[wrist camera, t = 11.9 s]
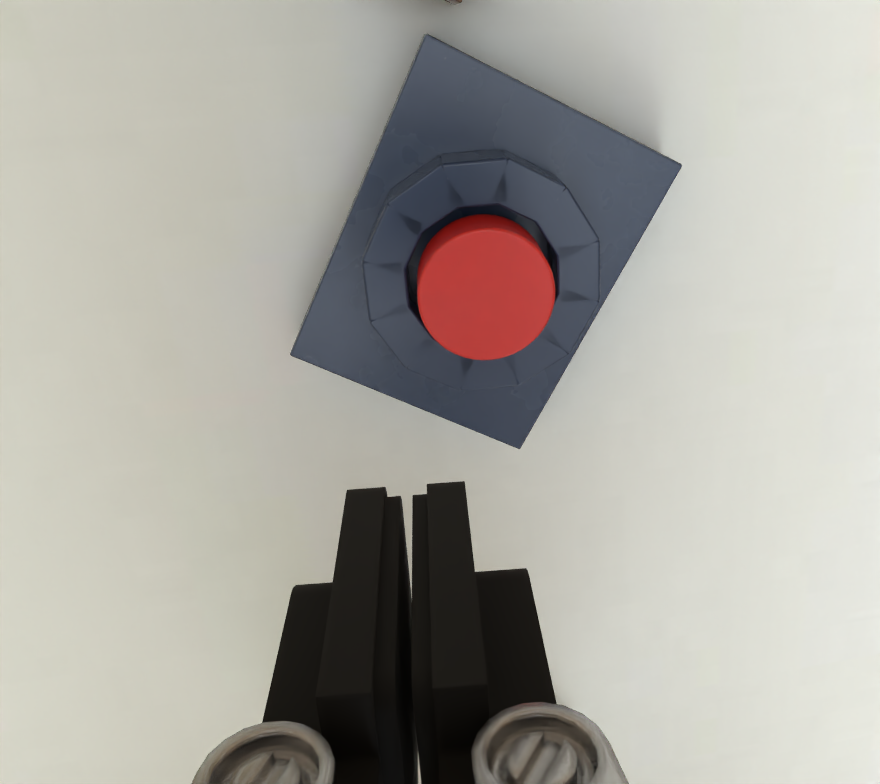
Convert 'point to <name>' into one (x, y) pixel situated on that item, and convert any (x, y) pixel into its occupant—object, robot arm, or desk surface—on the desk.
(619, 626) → the desk surface
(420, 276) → the button
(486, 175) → the button box
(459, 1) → the panel
